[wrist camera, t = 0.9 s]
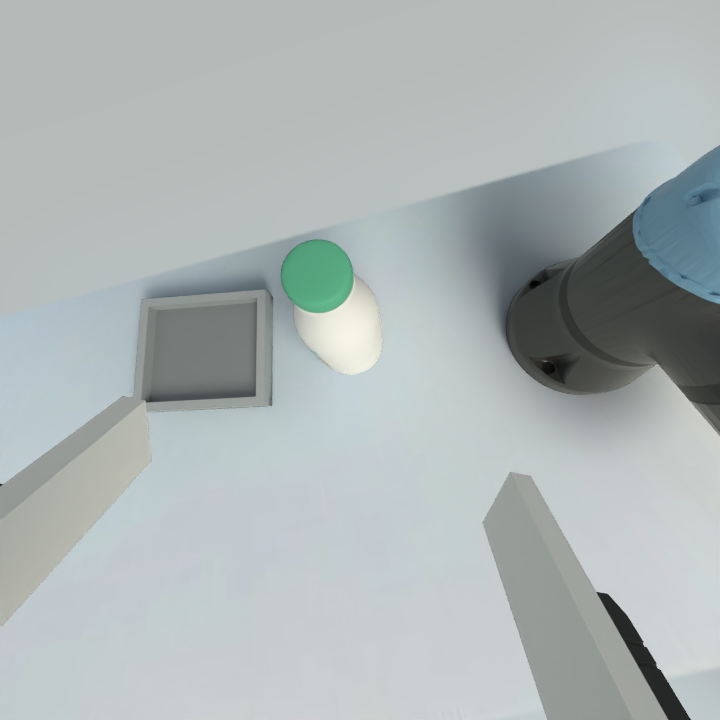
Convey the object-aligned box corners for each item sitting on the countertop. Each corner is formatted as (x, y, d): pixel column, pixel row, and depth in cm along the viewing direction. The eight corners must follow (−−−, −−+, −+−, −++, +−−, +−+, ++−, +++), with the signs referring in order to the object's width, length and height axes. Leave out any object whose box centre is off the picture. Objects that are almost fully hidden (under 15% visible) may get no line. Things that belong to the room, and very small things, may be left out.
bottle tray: (272, 296, 42) (265, 289, 39) (272, 405, 39) (264, 405, 36) (155, 306, 43) (141, 299, 40) (147, 412, 40) (132, 411, 38)
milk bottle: (389, 321, 40) (389, 225, 20) (374, 382, 38) (359, 342, 19) (329, 308, 41) (274, 205, 21) (313, 367, 39) (238, 316, 20)
